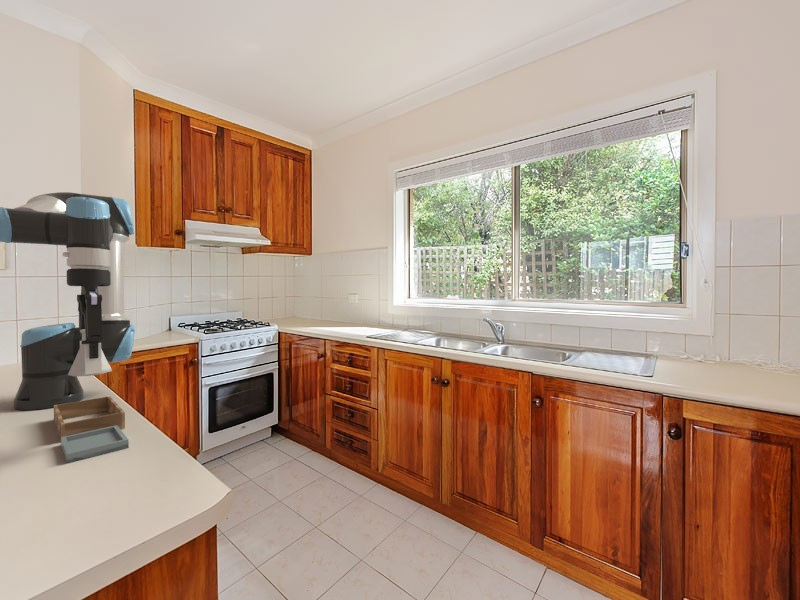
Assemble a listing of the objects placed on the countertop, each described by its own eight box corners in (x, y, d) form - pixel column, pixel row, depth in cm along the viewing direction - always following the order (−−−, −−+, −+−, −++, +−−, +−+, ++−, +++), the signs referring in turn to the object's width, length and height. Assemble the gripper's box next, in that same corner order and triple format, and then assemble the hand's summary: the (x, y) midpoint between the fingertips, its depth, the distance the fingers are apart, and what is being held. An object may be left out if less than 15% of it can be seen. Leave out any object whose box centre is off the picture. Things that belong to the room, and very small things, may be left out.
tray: (60, 445, 81) (60, 437, 81) (117, 432, 88) (117, 425, 88) (66, 463, 73) (66, 454, 73) (128, 447, 80) (128, 439, 80)
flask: (86, 378, 78) (86, 331, 78) (60, 376, 80) (59, 330, 80) (119, 371, 85) (118, 328, 85) (94, 370, 87) (93, 327, 87)
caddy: (54, 420, 96) (53, 405, 96) (110, 410, 104) (109, 396, 104) (61, 442, 83) (61, 424, 83) (125, 428, 91) (124, 412, 91)
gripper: (62, 270, 86) (63, 367, 87) (71, 264, 73) (73, 380, 73) (102, 271, 92) (104, 363, 92) (118, 266, 78) (120, 374, 78)
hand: (90, 370), depth 83 cm, fingers closed on flask, 7 cm apart
